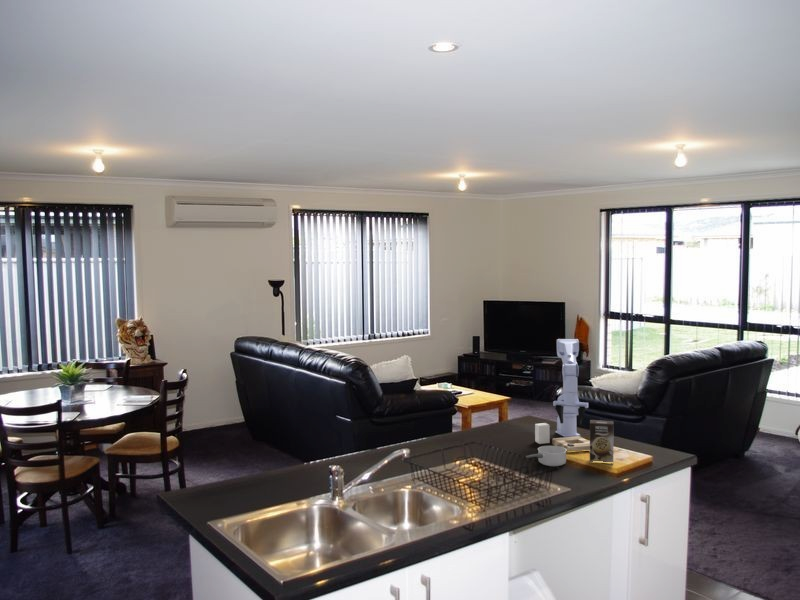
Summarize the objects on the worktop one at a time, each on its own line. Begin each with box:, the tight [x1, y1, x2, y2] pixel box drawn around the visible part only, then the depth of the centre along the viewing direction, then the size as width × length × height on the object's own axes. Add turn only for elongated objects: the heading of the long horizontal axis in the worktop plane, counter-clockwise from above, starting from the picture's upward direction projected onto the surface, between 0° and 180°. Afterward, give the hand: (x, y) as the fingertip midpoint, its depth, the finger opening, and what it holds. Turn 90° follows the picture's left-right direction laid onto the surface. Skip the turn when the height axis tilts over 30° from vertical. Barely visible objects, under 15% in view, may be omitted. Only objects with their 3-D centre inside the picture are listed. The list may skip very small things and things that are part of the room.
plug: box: [534, 422, 553, 445], centre depth 298 cm, size 4×7×8 cm, turn 104°
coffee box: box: [589, 419, 615, 463], centre depth 267 cm, size 9×6×16 cm
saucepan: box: [525, 445, 567, 467], centre depth 264 cm, size 12×20×6 cm, turn 125°
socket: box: [551, 435, 590, 451], centre depth 288 cm, size 15×13×3 cm
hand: (570, 423), depth 286 cm, fingers open, 7 cm apart
